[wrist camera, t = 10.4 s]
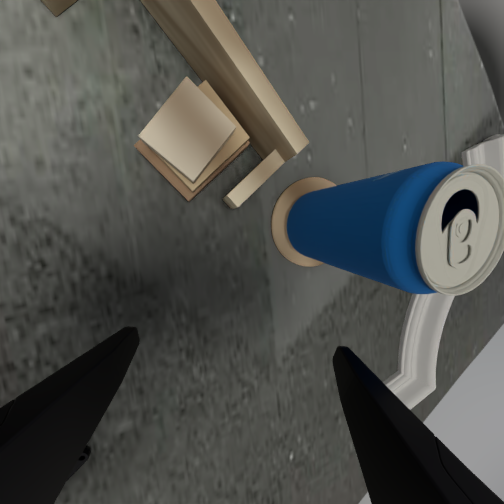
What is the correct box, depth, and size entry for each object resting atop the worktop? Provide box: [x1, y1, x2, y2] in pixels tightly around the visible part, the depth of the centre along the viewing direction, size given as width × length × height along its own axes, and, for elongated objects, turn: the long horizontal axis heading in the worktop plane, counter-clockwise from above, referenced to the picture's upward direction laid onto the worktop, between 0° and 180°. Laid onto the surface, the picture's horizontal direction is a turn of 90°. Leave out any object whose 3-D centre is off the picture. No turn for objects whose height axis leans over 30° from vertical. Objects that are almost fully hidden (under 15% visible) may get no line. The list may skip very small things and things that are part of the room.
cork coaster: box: [271, 177, 336, 267], centre depth 20 cm, size 9×9×1 cm
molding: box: [383, 134, 504, 409], centre depth 26 cm, size 42×12×3 cm, turn 160°
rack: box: [41, 0, 309, 209], centre depth 13 cm, size 6×18×5 cm, turn 43°
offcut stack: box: [134, 76, 250, 202], centre depth 14 cm, size 7×5×4 cm
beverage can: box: [287, 162, 504, 296], centre depth 14 cm, size 6×6×12 cm
